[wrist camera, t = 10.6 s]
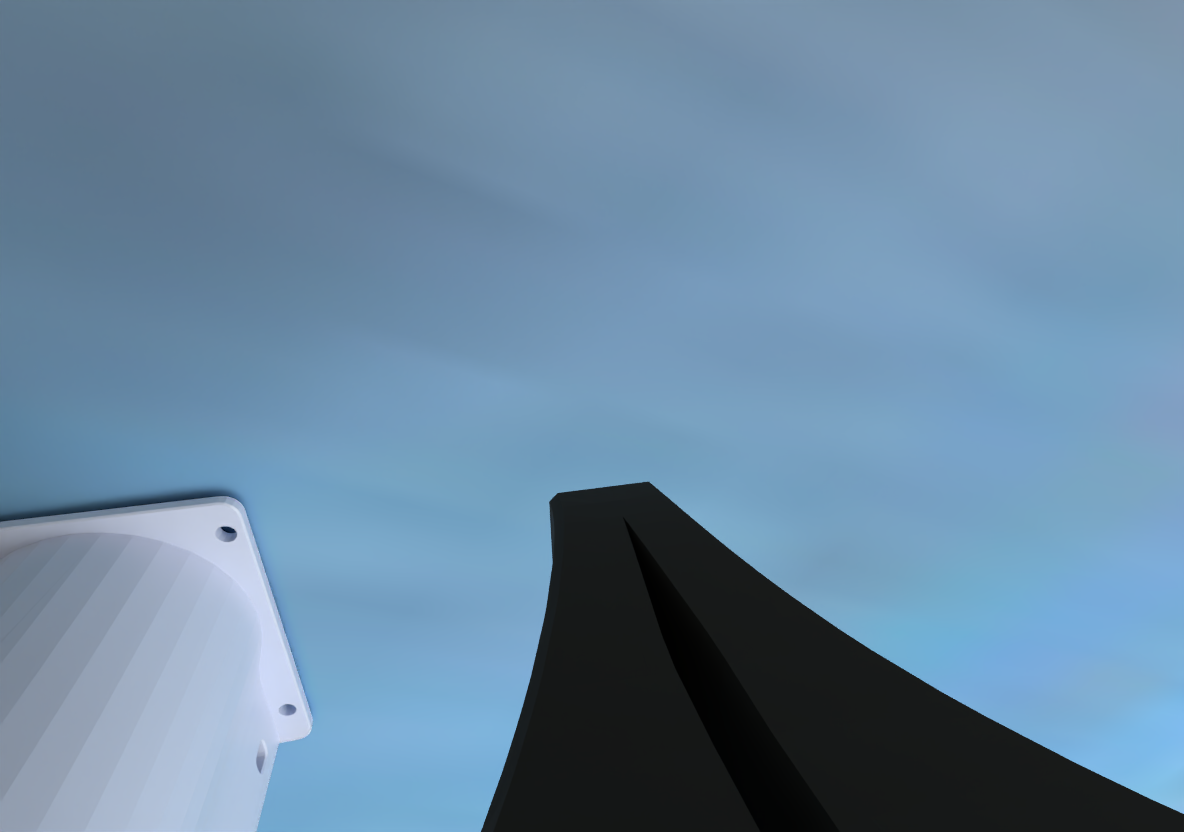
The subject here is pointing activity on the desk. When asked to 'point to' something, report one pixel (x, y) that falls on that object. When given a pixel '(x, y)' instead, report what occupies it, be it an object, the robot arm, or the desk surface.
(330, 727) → the desk surface
